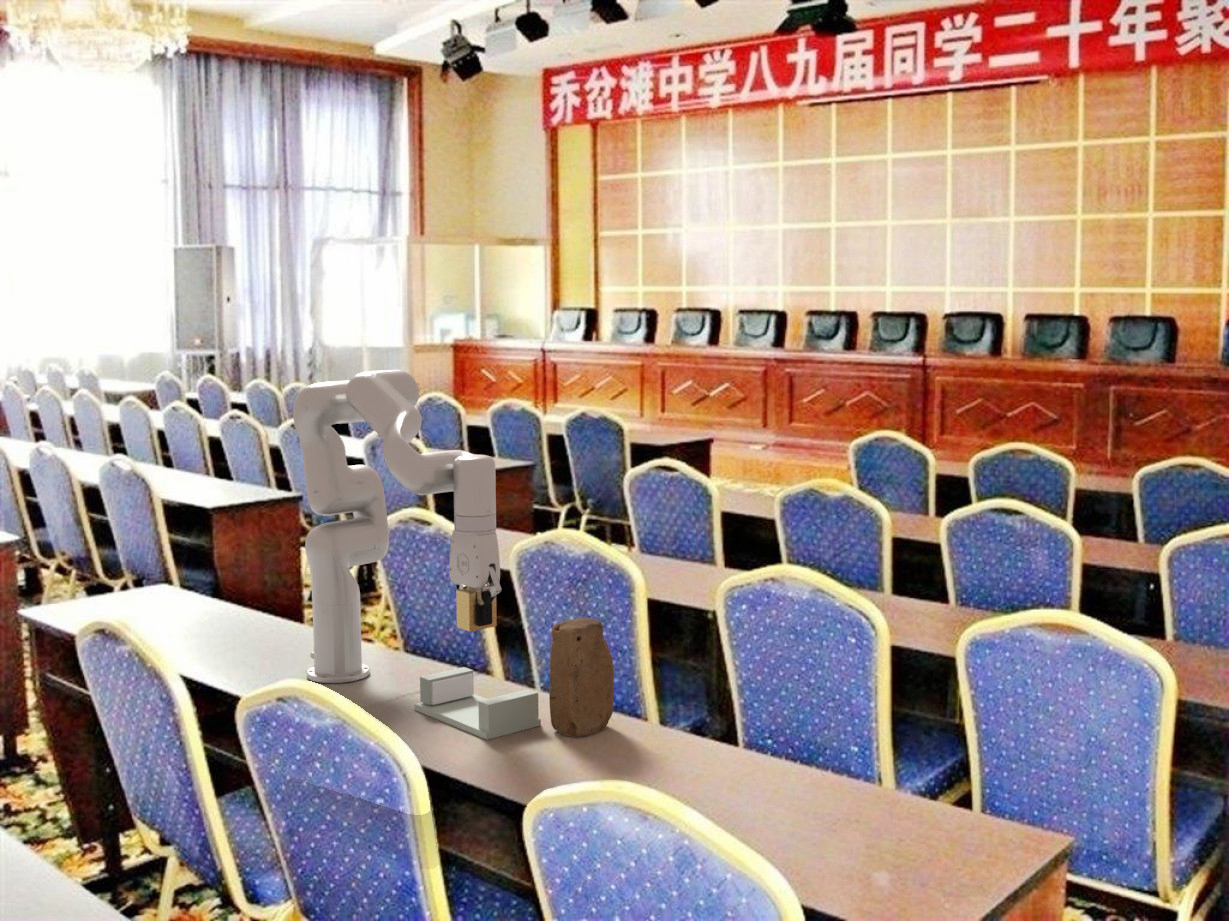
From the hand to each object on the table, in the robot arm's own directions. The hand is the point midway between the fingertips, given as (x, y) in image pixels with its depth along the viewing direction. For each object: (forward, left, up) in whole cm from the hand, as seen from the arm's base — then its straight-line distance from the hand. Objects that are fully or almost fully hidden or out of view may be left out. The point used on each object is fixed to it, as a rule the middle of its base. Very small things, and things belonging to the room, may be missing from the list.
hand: (476, 621), depth 252 cm
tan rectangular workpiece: (0, 0, -1) cm, 1 cm away
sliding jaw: (-9, 0, -17) cm, 19 cm away
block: (+18, +10, -18) cm, 28 cm away
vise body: (0, 0, -18) cm, 18 cm away
